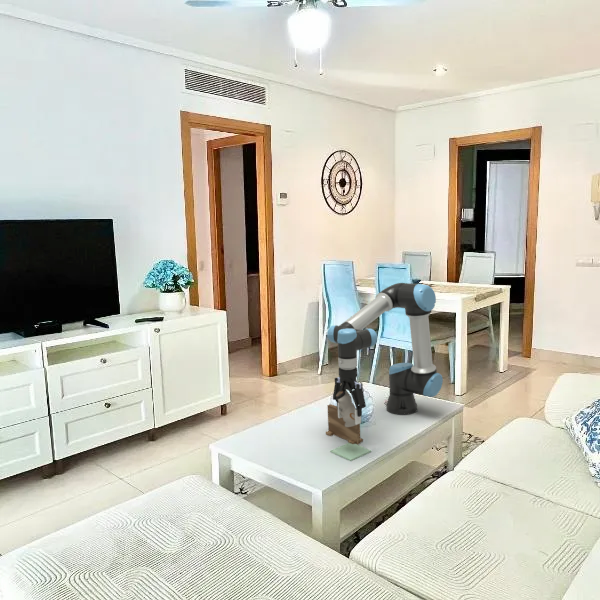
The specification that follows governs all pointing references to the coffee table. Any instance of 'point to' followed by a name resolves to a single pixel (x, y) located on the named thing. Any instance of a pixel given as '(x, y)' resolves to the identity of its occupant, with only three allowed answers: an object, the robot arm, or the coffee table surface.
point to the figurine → (346, 408)
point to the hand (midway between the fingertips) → (349, 420)
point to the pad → (350, 451)
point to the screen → (342, 427)
